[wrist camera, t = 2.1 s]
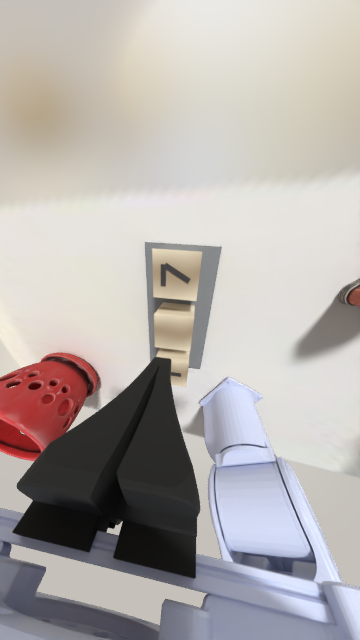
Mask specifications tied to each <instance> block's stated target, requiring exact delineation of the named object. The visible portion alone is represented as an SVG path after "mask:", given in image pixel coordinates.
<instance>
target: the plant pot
mask: <svg viewBox="0 0 360 640" xmlns="http://www.w3.org/2000/svg"><path fill="white" fill-rule="evenodd" d="M12 386H15V387H12ZM9 387H12V388H9ZM96 387H97V377H96V374H95V372H94V370H93V369H92V368H91V366H90V365H89V364H88V363H86V362H85V361H84V360H82V359H81V358H79V357H77V356H74V355H71V354H67V353H52V354H49V355H47V356H45V357H44V358H43V359H42V360H41V362H39V363H35V364H32V365H29V366H26V367H23V368H21V369H18V370H16V371H14V372H11V373H9V374H7V375H5V376H3V377H1V378H0V451H1V452H3V453H6V454H8V455H11V456H14V457H17V458H20V459H25V460H30V461H35V460H36V459H37V458H38V456H39V455H40V454H41V453H42V451H43V450H44V449H45V448H46V447H47V446H48V445H49V443H50V442H52V441H54V440H55V439H57V438H59V437H60V436H62V435H63V434H65V433H66V432H67V430H68V429H69V428H70V426H71V424H72V423H73V422H74V420H75V418H76V417H77V415H78V413H79V411H80V410H81V408H82V406H83V404H84V401H85V398H86V397H88V396H90V395H92V394H93V393H94V392H95V390H96ZM20 431H21V432H23V433H24V434H25V435H24V434H21V432H20Z"/></svg>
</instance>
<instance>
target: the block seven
mask: <svg viewBox="0 0 360 640" xmlns="http://www.w3.org/2000/svg"><path fill="white" fill-rule="evenodd" d="M201 259H202V252H199V251H184V250H169V249H154V248H152V262H153V297H158V298H169V299H179V300H190V301H196V300H197V292H198V284H199V276H200V267H201Z"/></svg>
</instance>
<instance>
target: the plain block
mask: <svg viewBox="0 0 360 640" xmlns="http://www.w3.org/2000/svg"><path fill="white" fill-rule="evenodd" d="M194 311H195V305H188V304H178V303H167V302H163V303H162V304H161V306H160V307H159V308H158V310H157V311H156V312H155V314H154V337H155V347H158V348H166V349H174V350H183V351H190V349H191V341H192V333H193V325H194Z"/></svg>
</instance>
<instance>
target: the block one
mask: <svg viewBox="0 0 360 640" xmlns="http://www.w3.org/2000/svg"><path fill="white" fill-rule="evenodd" d="M189 353H190V351H183V350H174V349H166V348H159V351H158V353H157V356H156V357H162V358H170V359H171V360H172V361H171V385H177V386H184V387H186V382H187V374H188V366H189Z"/></svg>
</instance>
